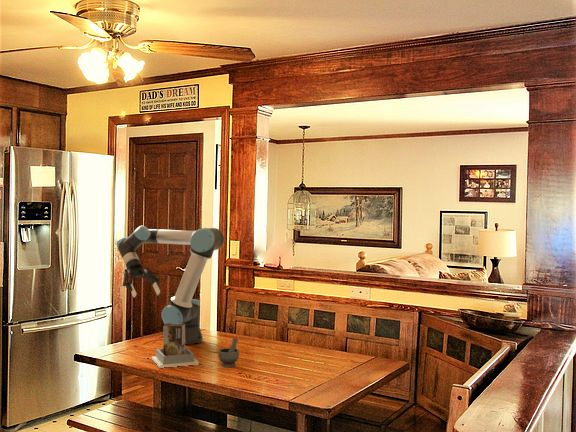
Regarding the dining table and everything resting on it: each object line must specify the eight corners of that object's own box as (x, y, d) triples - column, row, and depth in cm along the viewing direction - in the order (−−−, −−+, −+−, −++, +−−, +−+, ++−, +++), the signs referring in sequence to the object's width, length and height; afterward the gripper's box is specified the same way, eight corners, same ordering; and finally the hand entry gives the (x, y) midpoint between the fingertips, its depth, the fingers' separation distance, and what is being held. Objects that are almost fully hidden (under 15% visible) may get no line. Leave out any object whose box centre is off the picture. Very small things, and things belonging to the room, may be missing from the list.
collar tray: (188, 356, 293) (189, 346, 293) (198, 365, 277) (199, 354, 277) (151, 359, 286) (151, 348, 286) (159, 368, 270) (159, 357, 270)
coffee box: (185, 357, 284) (186, 323, 284) (181, 361, 278) (182, 325, 278) (166, 357, 285) (167, 322, 285) (162, 360, 279) (163, 325, 279)
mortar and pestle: (230, 369, 270) (230, 342, 270) (213, 366, 275) (214, 340, 275) (245, 364, 280) (245, 338, 280) (228, 361, 285) (229, 335, 285)
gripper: (150, 266, 328) (165, 297, 317) (107, 268, 311) (122, 301, 300) (156, 257, 324) (171, 288, 313) (113, 259, 307) (127, 291, 296)
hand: (147, 294), depth 307 cm, fingers open, 13 cm apart
